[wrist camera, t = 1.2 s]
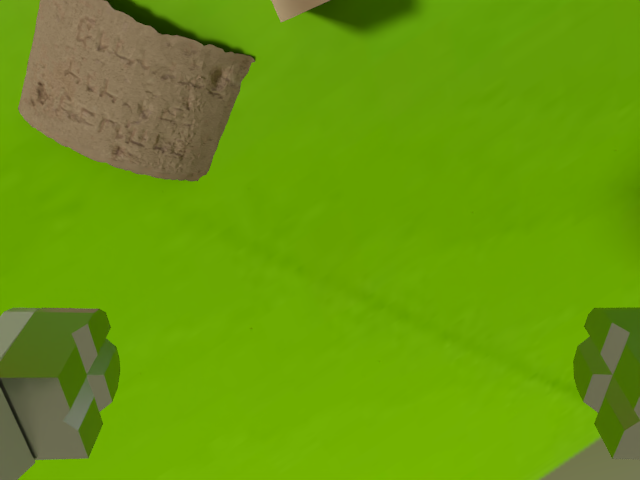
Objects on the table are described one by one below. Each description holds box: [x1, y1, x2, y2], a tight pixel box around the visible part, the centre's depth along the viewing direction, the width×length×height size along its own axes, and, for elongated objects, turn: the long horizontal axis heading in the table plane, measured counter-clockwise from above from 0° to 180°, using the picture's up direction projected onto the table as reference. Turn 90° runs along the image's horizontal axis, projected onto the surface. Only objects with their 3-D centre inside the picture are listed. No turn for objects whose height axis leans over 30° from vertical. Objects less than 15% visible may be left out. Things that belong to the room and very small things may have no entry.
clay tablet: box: [18, 0, 255, 181], centre depth 34 cm, size 14×10×3 cm
